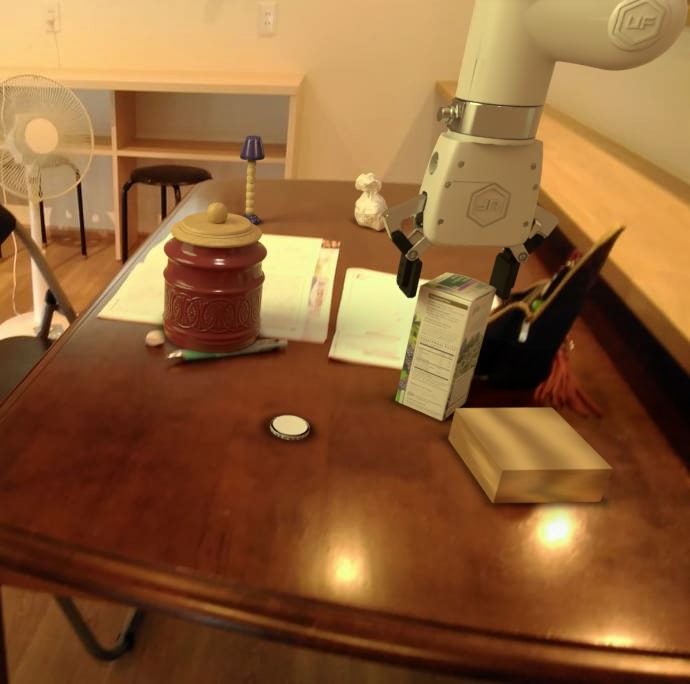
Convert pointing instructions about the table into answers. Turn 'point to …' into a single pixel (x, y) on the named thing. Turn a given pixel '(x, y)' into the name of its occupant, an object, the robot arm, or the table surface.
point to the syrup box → (444, 344)
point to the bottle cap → (289, 427)
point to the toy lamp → (251, 172)
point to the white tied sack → (370, 202)
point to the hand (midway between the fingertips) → (452, 293)
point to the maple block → (528, 456)
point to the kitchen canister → (213, 282)
